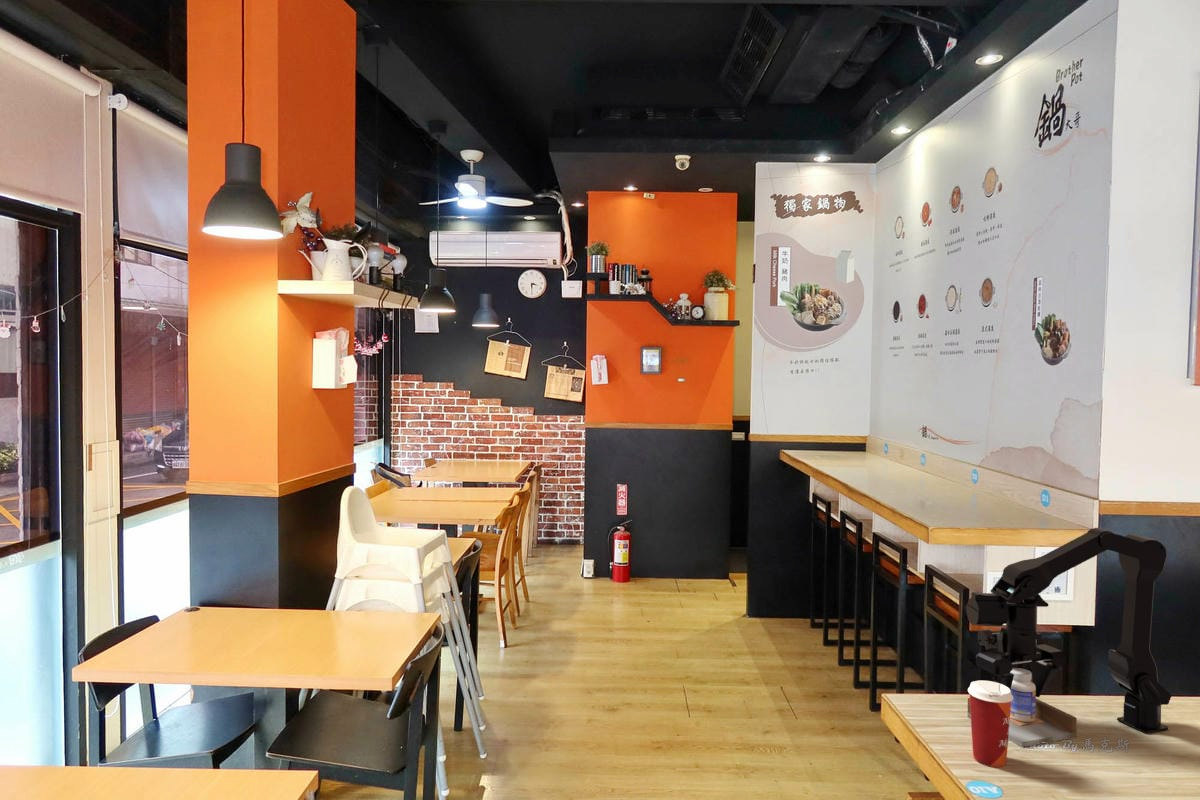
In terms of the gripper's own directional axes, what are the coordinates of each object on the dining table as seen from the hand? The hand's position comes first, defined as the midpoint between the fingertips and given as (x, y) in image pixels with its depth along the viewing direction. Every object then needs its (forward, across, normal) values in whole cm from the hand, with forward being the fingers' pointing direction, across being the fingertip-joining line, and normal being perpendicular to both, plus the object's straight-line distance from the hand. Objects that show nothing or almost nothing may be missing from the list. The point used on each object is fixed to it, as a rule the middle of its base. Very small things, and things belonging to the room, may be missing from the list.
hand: (1020, 699), depth 157 cm
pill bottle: (+4, 0, 0) cm, 4 cm away
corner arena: (+5, +2, +2) cm, 5 cm away
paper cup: (+5, +18, +10) cm, 22 cm away
